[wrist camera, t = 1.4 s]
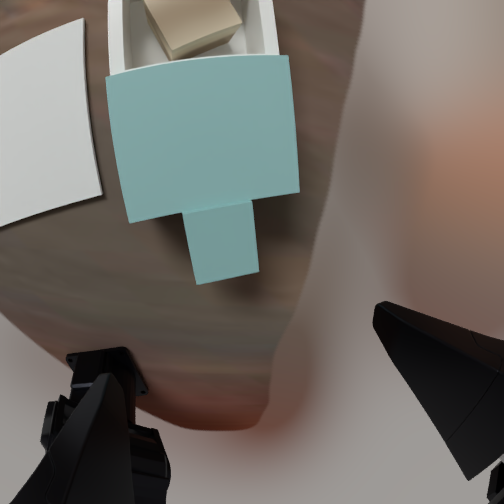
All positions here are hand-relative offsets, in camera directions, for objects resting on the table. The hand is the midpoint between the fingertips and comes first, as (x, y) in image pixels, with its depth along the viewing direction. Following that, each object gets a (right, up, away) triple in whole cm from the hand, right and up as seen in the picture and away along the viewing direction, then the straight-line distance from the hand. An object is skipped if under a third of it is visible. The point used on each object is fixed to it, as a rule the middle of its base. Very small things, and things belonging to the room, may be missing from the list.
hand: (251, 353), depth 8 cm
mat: (-16, +12, +5) cm, 21 cm away
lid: (-2, +7, +6) cm, 10 cm away
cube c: (-4, +17, +5) cm, 18 cm away
